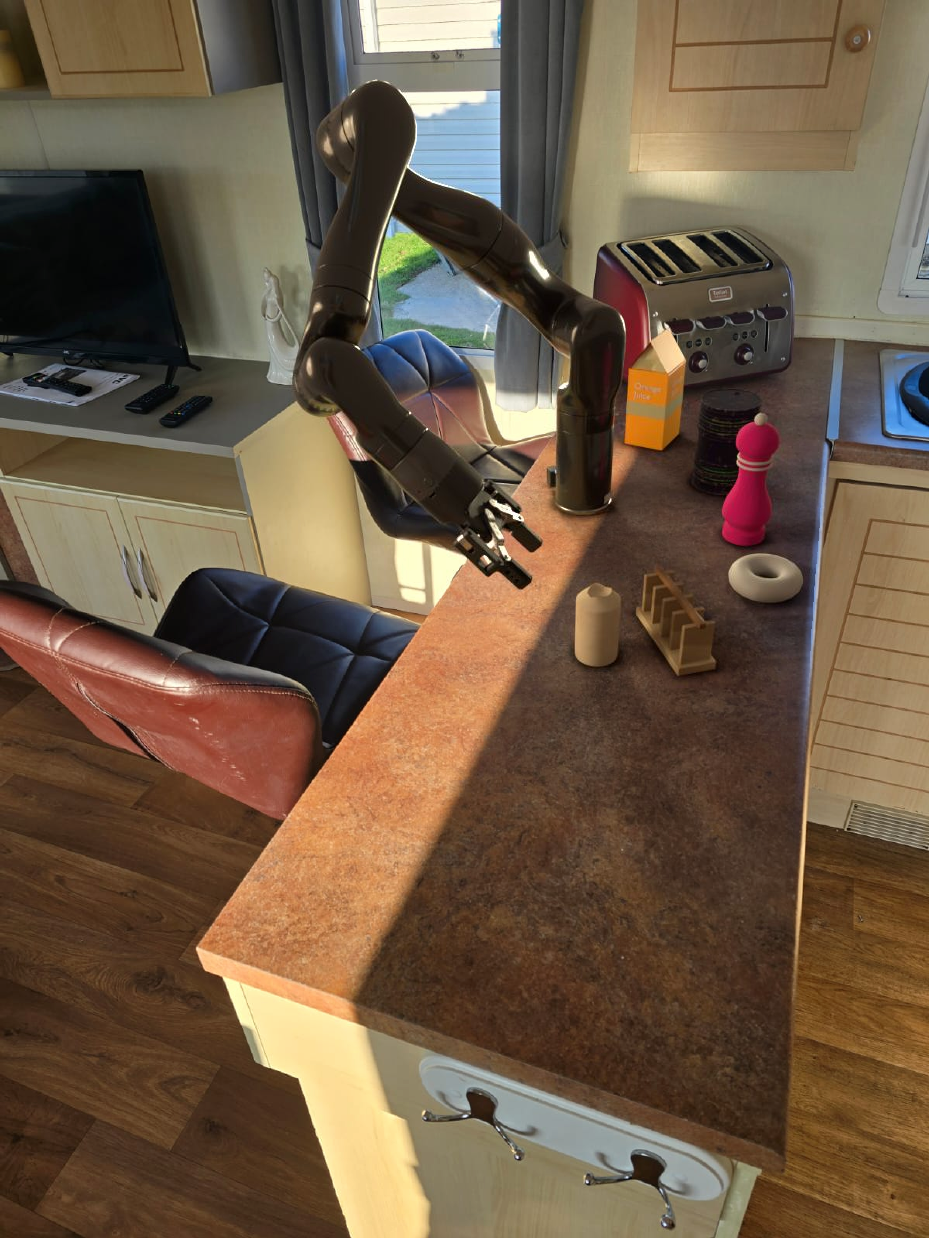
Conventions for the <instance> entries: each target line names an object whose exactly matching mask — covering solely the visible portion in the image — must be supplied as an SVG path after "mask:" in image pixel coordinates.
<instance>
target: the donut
mask: <svg viewBox="0 0 929 1238" xmlns="http://www.w3.org/2000/svg"><path fill="white" fill-rule="evenodd" d="M727 575H728V582H729V585H730V586H731V587H732V588H733V590H734V591H735V592H736V593H738V594H739V595H741V597H744V598H746V599H749V600H751V601H754V602H758V603H767V604H770V603H771V604H775V603H782V602H784V601H787V600H790V599H792V598H793V597H795V596H796V595H797V594H798V593H799V592H800V591H801V588H802V586H803V584H804V578H803V573H802V571H801V569H800V568H799V567H798V566H797V565H796V564H795V563H794V562H792V561H791V560H790V559H788V558H785V557H783V556H780V555H775V554H773V553H752V554H751V553H749V554H747V555H744V556H741V557H739V558H738V559H736V560H735V561H734V562H733V563H732V564H731V566H730V568H729V570H728V574H727Z"/></svg>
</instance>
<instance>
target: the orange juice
mask: <svg viewBox="0 0 929 1238" xmlns="http://www.w3.org/2000/svg"><path fill="white" fill-rule="evenodd" d="M686 364H687V359H686V358H685V356H684V354H683V352H682V351H681V348H680V347H679V345H678V343H677V341H676V339H675V337H674V334H673V333H672V331H671V330H670V328H669V327H667V328H665V330H663V331H662V332H661V333H659V334H658V335H657V336H655V337H654V338H652V339H651V340H650V341H649V342H648V343H647V345H646V346H645V348H644V349H643V350H642V351H641V353H639V354H638V356H637V358H635V360H634V361H633V363H632V364H631V365H630V366H629V368H628V378H627V379H628V380H627V381H628V382H627V397H626V407H625V408H626V410H625V414H626V415H625V429H624V430H625V432H624V444H626V445H629V446H630V445H631V446H636V447H641V448H647V449H652V450H656V451H657V450H658V451H663V450H664V449H665V448H666V447H667V446H668V445H669V444H670V443H671V442H673V440H674V439H675V438H676V437H677V436H678V435H680V424H681V415H682V405H683V397H684V385H685V375H686Z"/></svg>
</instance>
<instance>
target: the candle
mask: <svg viewBox="0 0 929 1238" xmlns="http://www.w3.org/2000/svg"><path fill="white" fill-rule="evenodd" d="M621 608H622V598H621V596H620V595H619V594H618V592H616V591H615V590H613V588H612V587H607V586H605V585H603V584H601V583H599V582H594V583H593V584H591V585H590V586H587V587H586V588H584V589H582V591H580V592H578V593H577V594H576V598H575V623H574V625H575V628H574V655H575V658H576V659H577V660H578V661H579V662H580V663H582V664H584V665H586V666H589V667H598V668H599V667H604V666H608V665H610V664H612V663H614V662H615V661H616V659H617V658H618V653H619V640H620V626H621V625H620V623H621V610H622V609H621Z"/></svg>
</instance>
